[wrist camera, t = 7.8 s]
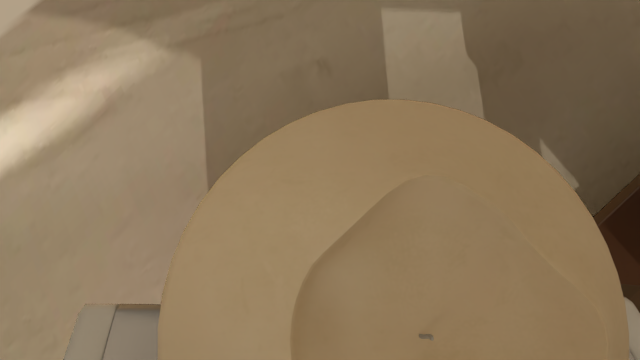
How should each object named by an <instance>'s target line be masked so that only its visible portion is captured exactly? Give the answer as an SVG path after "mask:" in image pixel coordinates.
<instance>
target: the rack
mask: <svg viewBox="0 0 640 360" xmlns="http://www.w3.org/2000/svg"><path fill="white" fill-rule="evenodd" d="M593 219H594V221H595V223H596V224H597V226H598V228H599V230H600V232H601V234H602V236H603V238H604V240H605V242H606V244H607V246H608V249H609V251H610V254H611V257H612V259H613V262H614V265H615V267H616V270H617V273H618V276H619V280H620V284H621V288H622V292H623V296H624V297H626V298H627V299H629V300H630V301H631V302H633V304H634V305H635V306H636V308H637V310H638V311H639V313H640V174H639V175H638V176H637V177H636V178H635V179H634V180H633V181H632V182H631V183H630V184H629V185H627V186H626V187H625V188H624V189H623V190H622V191H621V192H620V193H619V194H618V195H617V196H616V197H615V198H613V199H612V200H611V201H610V202H609V203H608V204H607V205H606V206H605V207H604V208H603V209H602V210H601V211H600V212H598V213H597V214H596V215H595V216H594V217H593Z"/></svg>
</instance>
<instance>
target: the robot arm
mask: <svg viewBox="0 0 640 360" xmlns="http://www.w3.org/2000/svg"><path fill="white" fill-rule="evenodd" d="M624 300H625V306H626V314H627V322H628V329H629V360H640V313H639V311H638V310H637V308H636V306H635V305H634V304H633V302H631V301H630V300H629V299H627V298H626V297H624ZM160 308H161V304H85V305H84V307H83V308H82V309H81V311H80V312H79V314H78V317H77V320H76V323H75V326H74V329H73V332H72V335H71V338H70V341H69V344H68V347H67V350H66V353H65V356H64V359H63V360H158V323H159V315H160Z"/></svg>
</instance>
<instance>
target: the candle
mask: <svg viewBox="0 0 640 360" xmlns="http://www.w3.org/2000/svg"><path fill="white" fill-rule="evenodd" d="M158 360H629V329H628V322H627V314H626V306H625V300H624V296H623V292H622V288H621V284H620V280H619V276H618V273H617V270H616V267H615V265H614V262H613V259H612V257H611V254H610V251H609V249H608V246H607V244H606V242H605V240H604V238H603V236H602V234H601V232H600V230H599V228H598V226H597V224H596V223H595V221H594V219H593V217H592V216H591V214H590V213H589V211H588V210H587V208H586V207H585V205H584V204H583V202H582V201H581V199H580V198H579V196H578V195H577V193H576V192H575V191H574V190H573V189H572V188H571V186H570V185H569V184H568V183H567V182H566V181H565V179H564V178H563V177H562V176H561V175H560V174H559V172H558V171H557V170H556V169H555V168H553V167H552V166H551V165H550V164H549V163H548V162H547V161H546V160H545V159H544V158H542V157H541V156H540V155H539V154H538V153H537V152H536V151H535V150H533V149H532V148H530V147H529V146H528V145H526V144H525V143H523V142H522V141H521V140H519V139H518V138H516V137H515V136H514V135H512V134H510V133H509V132H507V131H505V130H503V129H501V128H499V127H497V126H496V125H494V124H492V123H490V122H488V121H486V120H484V119H481V118H479V117H476V116H474V115H471V114H469V113H466V112H463V111H461V110H458V109H454V108H450V107H446V106H442V105H438V104H434V103H428V102H420V101H412V100H369V101H361V102H354V103H347V104H343V105H339V106H335V107H332V108H328V109H324V110H321V111H317V112H315V113H313V114H310V115H308V116H305V117H303V118H301V119H298V120H296V121H293V122H291V123H289V124H287V125H286V126H284V127H282V128H281V129H279V130H277V131H275V132H274V133H272V134H270V135H269V136H267V137H265V138H264V139H262V140H261V141H260V142H259V143H257V144H256V145H255V146H253V147H252V148H251V149H249V150H248V151H247V152H246V153H244V154H243V155H242V156H240V157H239V158H238V159H237V160H236V161H235V163H234V164H233V165H232V166H231V167H230V168H229V169H228V170H227V171H226V172H225V173H224V174H223V175H222V176H221V177H220V178H219V179H218V180H217V181H216V183H215V184H214V185H213V187H212V188H211V189H210V190H209V192H208V193H207V194H206V196H205V197H204V198H203V200H202V201H201V202H200V204H199V205H198V207H197V209H196V211H195V212H194V214H193V216H192V218H191V219H190V221H189V223H188V225H187V226H186V228H185V230H184V232H183V234H182V236H181V239H180V241H179V244H178V246H177V248H176V251H175V253H174V256H173V258H172V261H171V264H170V267H169V271H168V275H167V278H166V282H165V286H164V290H163V293H162V300H161V308H160V315H159V323H158Z"/></svg>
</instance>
